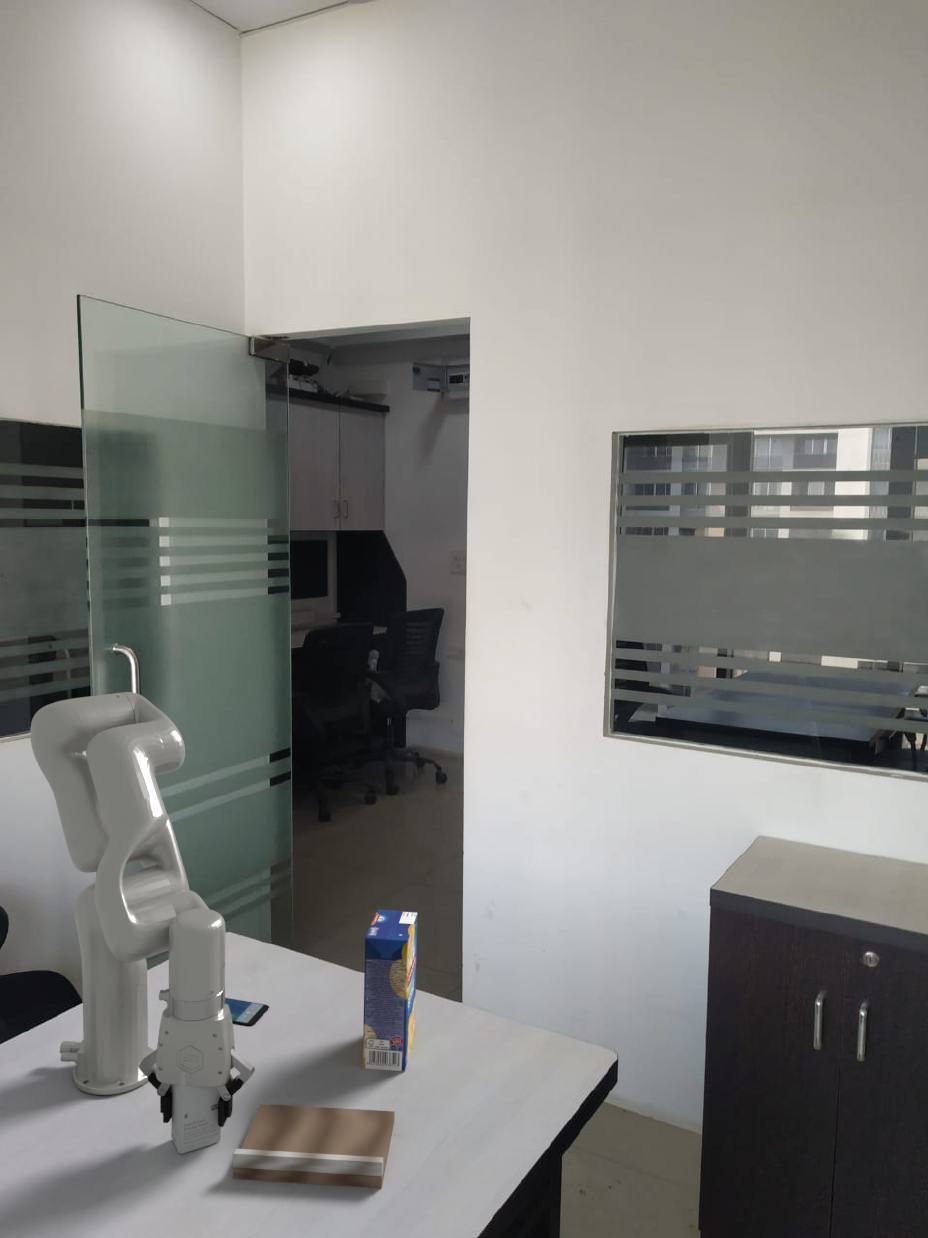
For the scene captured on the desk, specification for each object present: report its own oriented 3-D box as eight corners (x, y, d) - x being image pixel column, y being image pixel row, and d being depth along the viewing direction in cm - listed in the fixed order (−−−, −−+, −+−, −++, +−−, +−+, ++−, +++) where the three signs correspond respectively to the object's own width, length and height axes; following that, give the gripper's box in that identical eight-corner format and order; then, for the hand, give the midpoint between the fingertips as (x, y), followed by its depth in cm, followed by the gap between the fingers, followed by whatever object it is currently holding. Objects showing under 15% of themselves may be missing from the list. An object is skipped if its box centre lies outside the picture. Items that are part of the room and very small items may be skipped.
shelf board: (233, 1179, 128) (233, 1154, 128) (260, 1113, 142) (260, 1091, 142) (381, 1188, 127) (382, 1163, 127) (394, 1121, 141) (394, 1098, 141)
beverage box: (414, 1034, 164) (417, 912, 162) (404, 1072, 153) (407, 941, 151) (375, 1031, 165) (377, 909, 162) (362, 1068, 154) (364, 938, 151)
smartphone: (252, 1025, 165) (174, 1011, 169) (252, 1029, 165) (174, 1015, 169) (270, 1005, 172) (195, 992, 176) (270, 1009, 172) (195, 995, 176)
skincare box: (179, 1156, 132) (179, 1074, 131) (170, 1137, 136) (170, 1058, 134) (223, 1141, 136) (223, 1061, 134) (212, 1123, 139) (213, 1045, 138)
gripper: (124, 1011, 130) (125, 1132, 132) (251, 1019, 129) (250, 1141, 131) (145, 983, 137) (146, 1098, 139) (265, 990, 136) (264, 1106, 139)
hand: (196, 1118), depth 135 cm, fingers closed on skincare box, 7 cm apart
